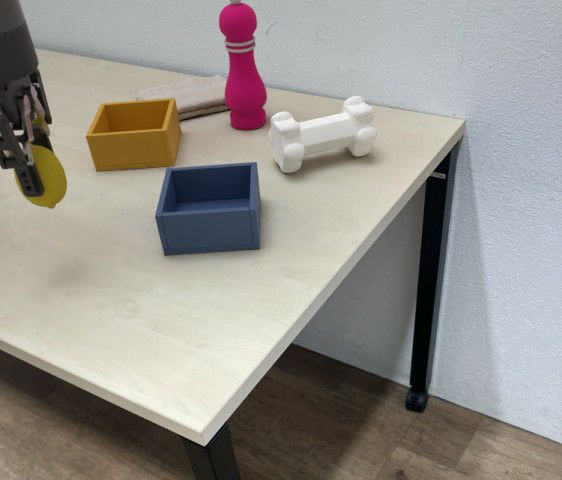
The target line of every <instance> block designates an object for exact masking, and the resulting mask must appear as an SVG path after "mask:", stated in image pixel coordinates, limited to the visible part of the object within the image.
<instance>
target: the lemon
mask: <svg viewBox="0 0 562 480" xmlns="http://www.w3.org/2000/svg"><path fill="white" fill-rule="evenodd" d="M21 149H22V151H23V148H21ZM31 149H32V154H33V159H34V163H35V164H36V167H37V170H38V172H39V175H40V178H41V181H42V183H43V186H44V189H45V192H44V194H43V195H42V196H40V197H27V196H25V195H24V193H23V190H22V188H21V185H20V182H19V180H18V177H17V175H16V172H15V170H14V169H13V174H14V179H15V182H16V185H17V187H18V189H19V191H20V193H21V194H22V196H23V197H24V198H25V199H26V200H27V201H29V202H30V203H31V204H32V205H35V206H38V207H42V208H47V209H49V210H53V209H55V207H56V206H57V204H59V203H61V202H62V200H63V199H64V198H65V197H66V193H67V190H68V179H67V175H66V172H65V169H64V166H63V165H62V162H61V161H60V160H59V158H58V157H57V155H56V154H55V152H54V153H53V152H51V151H50V150H49V149H47V148H45V147H42V146H38V145H33V144H31ZM23 153H24V152H23Z"/></svg>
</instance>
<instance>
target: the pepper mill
mask: <svg viewBox="0 0 562 480" xmlns="http://www.w3.org/2000/svg"><path fill="white" fill-rule="evenodd" d="M229 2H230V3H229V4H227V5H225V6H224V7H223V8H222V9H221V10H220V13H219V16H218V26H219V30H220V32H221V34H222V35H223V36H224V37H225V38H224V39H223V42H224V45H225V46H224V49H225V51H227V54H228V59H229V68H228V75H227V83H226V86H225V103H226V105H227V106H228V107H229V109H228V110H230V113H229V120H230V126H231V127H232V128H234V129H237V130H240V131H241V130H242V131H249V130H256V129H258V128H261V127H263V126H264V125H265V124H266V122H267V114H266V110H265V108H264V106H265V105H266V103H267V100H268V94H267V88H266V86H265V83H264V81H263V79H262V77H261V75H260V72H259V71H258V67H257V64H256V60H255V48H256V47H257V43H256V37H255V36H254V34H255V32H256V30H257V28H258V19H257V15H256V13H255V10H254V9H253V8H252V7H251V6H250V5H249V4H247V3H245V2H242V0H229Z"/></svg>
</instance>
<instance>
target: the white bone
mask: <svg viewBox="0 0 562 480" xmlns="http://www.w3.org/2000/svg"><path fill="white" fill-rule="evenodd" d="M374 112H375V111H374V107H372V106H371V105H369V104H367V103H366V102H365V99H364V98H363V97H362V96H359V95H354V96H350V97H348V98H347V99H345V101H344V102H343V104H342V108H341V112H340V113H337V114H332V115H327V116H322V117H318V118H313V119H309V120H304V121H300V122H297V120H296V119H295V118H294V117H293V115H292V114H291V112H289V111H286V110H285V111H283V110H282V111H279V112H276V113H274V114H273V115H272V116H271V118H270V129H269V130H268V138H269V141H270V146H271V150H272V159H273V161H274V162H275V163H277V165H278V166H279V168H280V171H281V172H282V173H284V174H293V173H296V172H297V171H298V170H300V169H301V168H302V164H303V159H304V157H305V156H311V155H314V154H319V153H323V152H327V151H332V150H336V149H340V148H341V149H342V148H345V147H346V148H347V149H348V150H349V151H350V154H351V155H352V156H353V157H357V158H359V157H364V156H367V155H368V154H369V153H370V152H371V151H372V149H373V144H374V142H375V141H376V140H377V138H378V131H377V129H376V128H377V127H376V121H375V117H374Z"/></svg>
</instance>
